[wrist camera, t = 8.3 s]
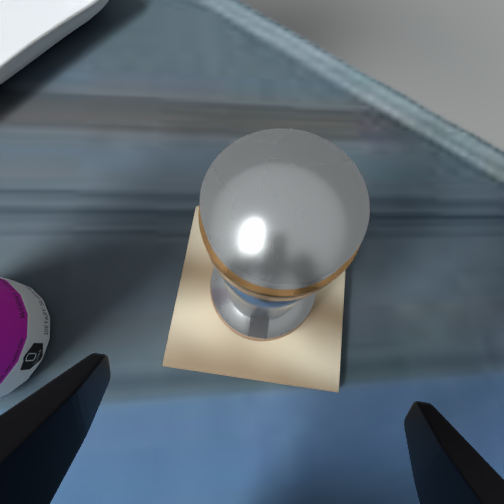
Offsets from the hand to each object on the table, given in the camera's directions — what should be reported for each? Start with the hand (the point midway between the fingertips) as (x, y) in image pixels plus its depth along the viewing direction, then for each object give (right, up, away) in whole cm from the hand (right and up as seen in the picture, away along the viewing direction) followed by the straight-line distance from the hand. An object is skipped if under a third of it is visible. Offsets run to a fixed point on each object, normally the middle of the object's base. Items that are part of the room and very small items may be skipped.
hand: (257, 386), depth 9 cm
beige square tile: (+1, +1, +14) cm, 15 cm away
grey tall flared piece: (+1, +2, +12) cm, 12 cm away
